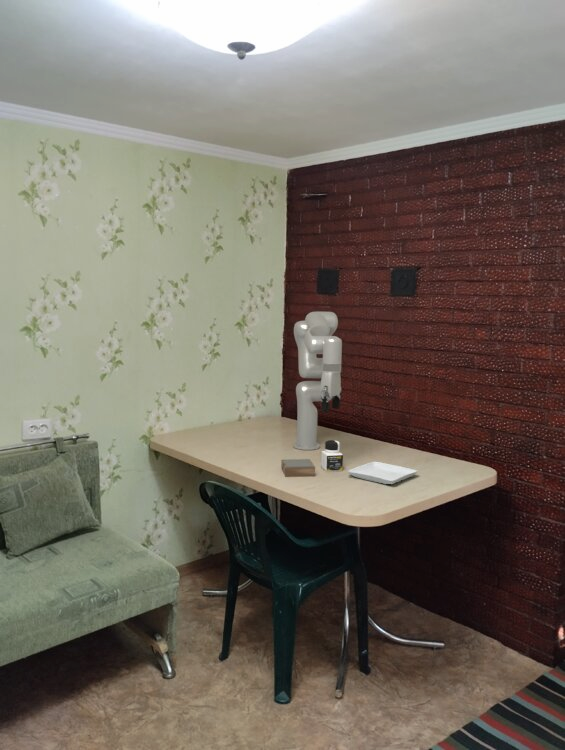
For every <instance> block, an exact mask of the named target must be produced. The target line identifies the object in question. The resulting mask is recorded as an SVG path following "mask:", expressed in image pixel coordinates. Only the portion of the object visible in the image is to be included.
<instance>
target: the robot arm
mask: <svg viewBox="0 0 565 750" xmlns="http://www.w3.org/2000/svg"><path fill="white" fill-rule="evenodd" d="M338 319H339V318H338V316H337V314H336V313H335V312H332V311H311V312H308V314H307V315H306V316H305V318H304V320H299V321H296V323H294V327H293V335H294V336H293V337H294V340H295V343H296V346H297V350H298V352H297V353H298V355H297V356H298V358H297V359H298V374H299V376H300V377H301V378H302V379H320V380H304V381H301V382H299V383H297V385H296V387H295V394H296V401H297V402H296V403H297V405H296V406H297V410H296V411H297V413H296V414H297V418H296V419H297V421H296V422H297V423H296V442H294V443H293V444H292V445H293V446H292V447H293V448H295V449H296V450H302V451H303V450H304V451H314V450H319V448H320V447H321V444H320V443H319V442H318V409H317V407H316V405H314V402H321V412H323V413H329V412H330V404H332V405H331V408H332V409H337V410H339V409H340V407H341V395H342V386H341V385H342V383H341V382H342V381H341V380H342V379H341V373H342V354H343V353H342V351H343V350H342V349H343V341H342V339H341V338H339V337H338V336H335V335H333V334H334V333H335V331H336V330H337V328H338V325H339V320H338ZM317 355H322V357H317ZM330 401H331V403H330Z"/></svg>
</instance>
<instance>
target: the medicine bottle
mask: <svg viewBox="0 0 565 750" xmlns="http://www.w3.org/2000/svg"><path fill="white" fill-rule="evenodd" d="M340 444H341V442H340V441H338V440H335V439H334V440H333V439H329V440H326V441H325V442H324V450H321V461H320V463H321V464H320V465H321V466H320V467H321V469H323V470H324V471H325V472H326V473H329V472H342V471H343V469H344V468H343V467H344V466H343V465H344V463H343V462H344V455H343V453H342V452H340V449H341V447H340V446H341V445H340Z"/></svg>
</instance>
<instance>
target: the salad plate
mask: <svg viewBox="0 0 565 750" xmlns="http://www.w3.org/2000/svg"><path fill="white" fill-rule="evenodd" d="M418 471H419V470H417V469H413V468H408V467H404V466H400V465H395V464H391V463H385V462H380V461H371V462H370V461H369V462H368V463H365V464H362V465H358V466H356V467H354V468H351V469H348V470H347V473H348V474H349V475H350V476H353V477H355V478H358V479H361V480H363V481H369V482H372V481H373V483H377V482H378V484H381V483H383V484H382V485H386V484H391V485H394V484H396V482H397V483H399V482H402V481H404V480H406V479H408V478H411V477H413V476H415V475H416V474H417V473H418ZM401 480H402V481H401Z"/></svg>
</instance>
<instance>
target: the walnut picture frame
mask: <svg viewBox="0 0 565 750" xmlns="http://www.w3.org/2000/svg"><path fill="white" fill-rule="evenodd" d="M280 466H281V468H280V469H281V471H282V473H283V474H284V477H285V478H288V477H289V478H291V477H292V478H293V477H294V478H296V477H297V478H298V477H316V467H315V465H314V463H313V462H312V461H311V459H309V458H302V459H301V458H299V459H295V458H294V459H292V458H291V459H281V465H280Z"/></svg>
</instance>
